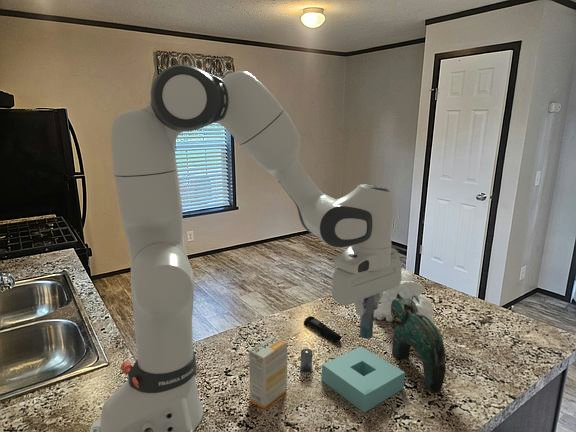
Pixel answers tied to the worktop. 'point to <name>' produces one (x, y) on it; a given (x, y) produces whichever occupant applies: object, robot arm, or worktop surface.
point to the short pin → (306, 360)
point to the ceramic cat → (418, 340)
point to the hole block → (363, 378)
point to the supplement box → (268, 371)
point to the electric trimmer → (322, 329)
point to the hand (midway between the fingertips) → (367, 311)
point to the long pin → (367, 318)
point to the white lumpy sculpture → (405, 291)
